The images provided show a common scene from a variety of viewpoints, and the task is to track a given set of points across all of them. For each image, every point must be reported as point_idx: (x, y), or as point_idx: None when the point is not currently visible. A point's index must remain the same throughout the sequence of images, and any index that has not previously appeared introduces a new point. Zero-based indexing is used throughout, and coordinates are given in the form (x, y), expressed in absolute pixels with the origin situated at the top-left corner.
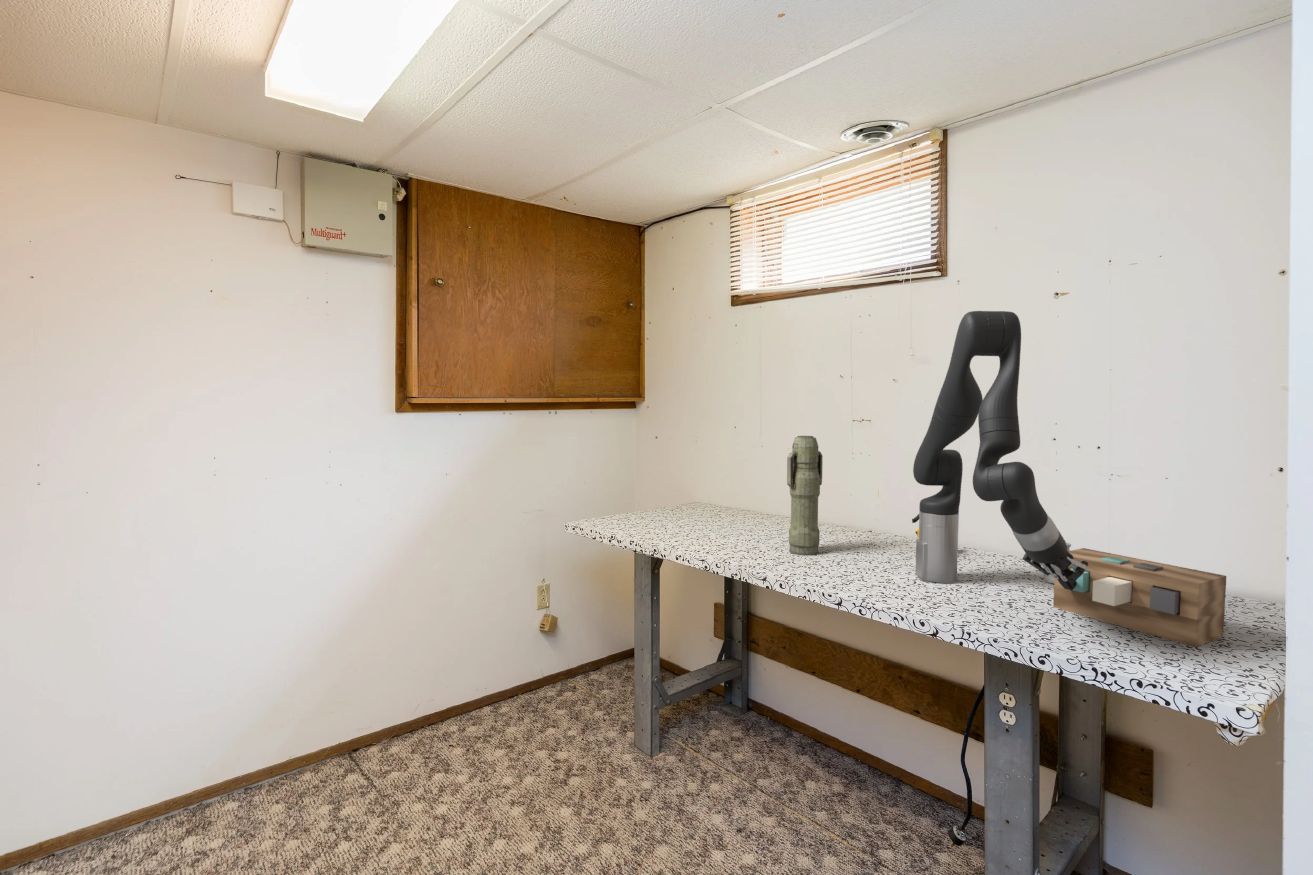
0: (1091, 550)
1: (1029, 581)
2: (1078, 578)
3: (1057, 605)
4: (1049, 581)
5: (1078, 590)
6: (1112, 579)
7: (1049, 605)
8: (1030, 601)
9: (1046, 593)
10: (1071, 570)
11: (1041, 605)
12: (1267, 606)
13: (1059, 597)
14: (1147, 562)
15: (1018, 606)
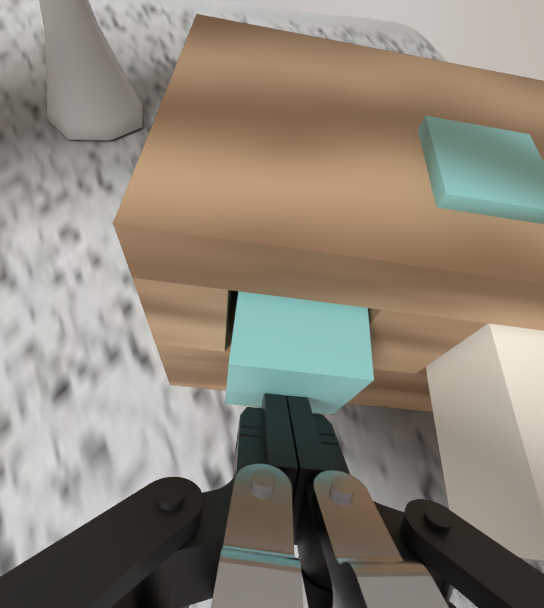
0: (248, 34)
1: (4, 155)
2: (331, 390)
3: (186, 383)
4: (66, 134)
5: (313, 410)
6: (541, 375)
7: (150, 375)
8: (70, 385)
9: (92, 239)
10: (375, 509)
11: (126, 403)
12: (435, 57)
13: (191, 370)
14: (536, 101)
15: (42, 523)
